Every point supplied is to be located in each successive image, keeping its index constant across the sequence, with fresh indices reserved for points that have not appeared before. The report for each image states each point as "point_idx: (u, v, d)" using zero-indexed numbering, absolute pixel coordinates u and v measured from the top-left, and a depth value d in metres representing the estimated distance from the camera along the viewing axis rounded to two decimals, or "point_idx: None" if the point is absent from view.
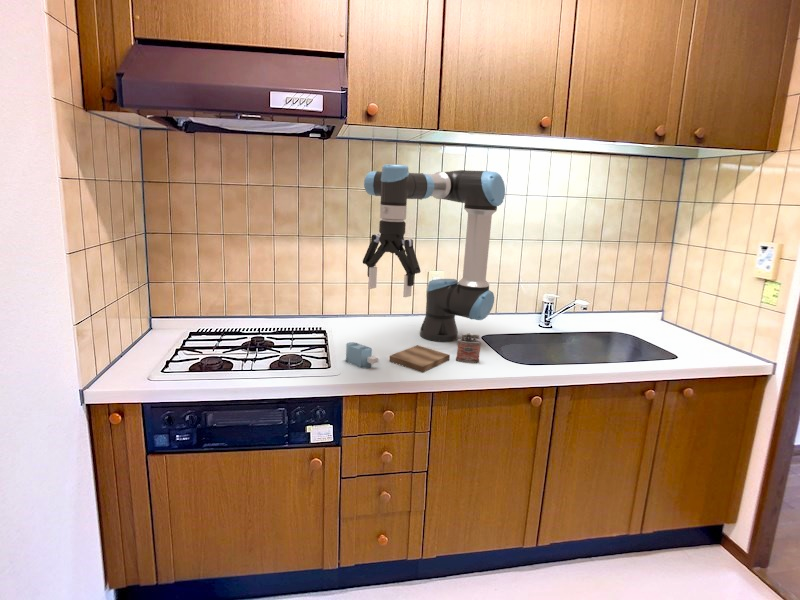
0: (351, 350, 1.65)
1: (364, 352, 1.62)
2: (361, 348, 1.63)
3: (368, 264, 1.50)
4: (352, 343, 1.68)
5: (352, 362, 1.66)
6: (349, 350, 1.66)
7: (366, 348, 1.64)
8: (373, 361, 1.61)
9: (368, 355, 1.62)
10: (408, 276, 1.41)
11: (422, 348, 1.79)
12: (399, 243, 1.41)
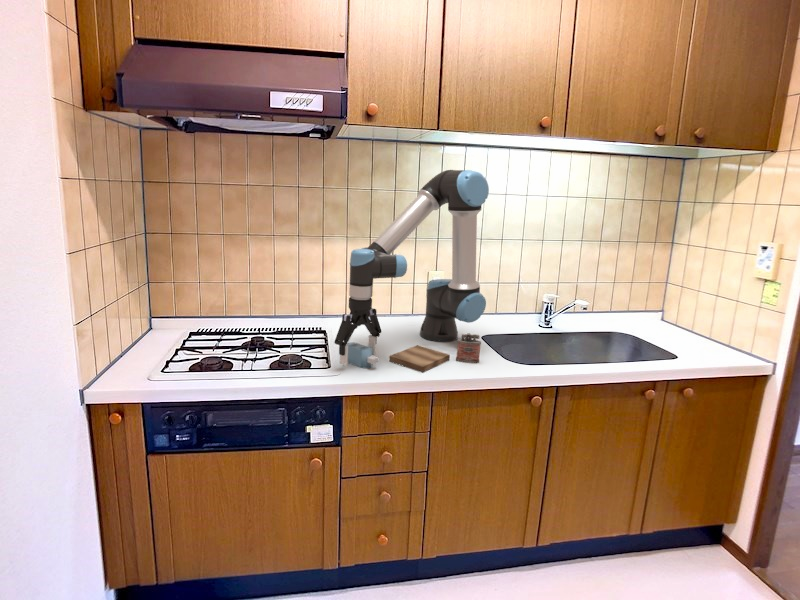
0: (351, 350, 1.65)
1: (364, 352, 1.62)
2: (361, 349, 1.63)
3: None
4: (352, 343, 1.68)
5: (352, 362, 1.66)
6: (348, 350, 1.66)
7: (366, 348, 1.64)
8: (373, 361, 1.61)
9: (368, 355, 1.62)
10: None
11: (422, 348, 1.79)
12: None
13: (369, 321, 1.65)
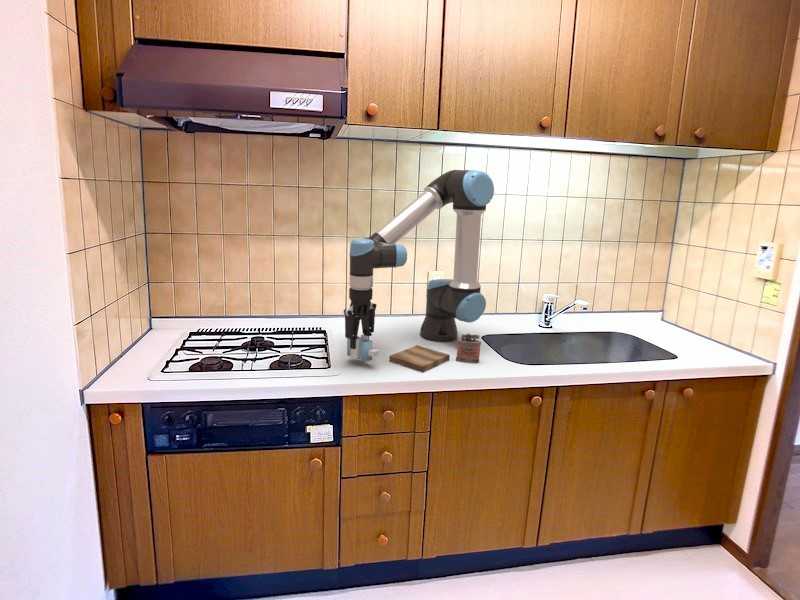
0: None
1: (365, 345, 1.61)
2: (362, 342, 1.63)
3: None
4: None
5: None
6: (349, 343, 1.65)
7: (367, 341, 1.63)
8: (374, 354, 1.60)
9: (369, 348, 1.62)
10: None
11: (422, 348, 1.79)
12: None
13: (368, 314, 1.63)
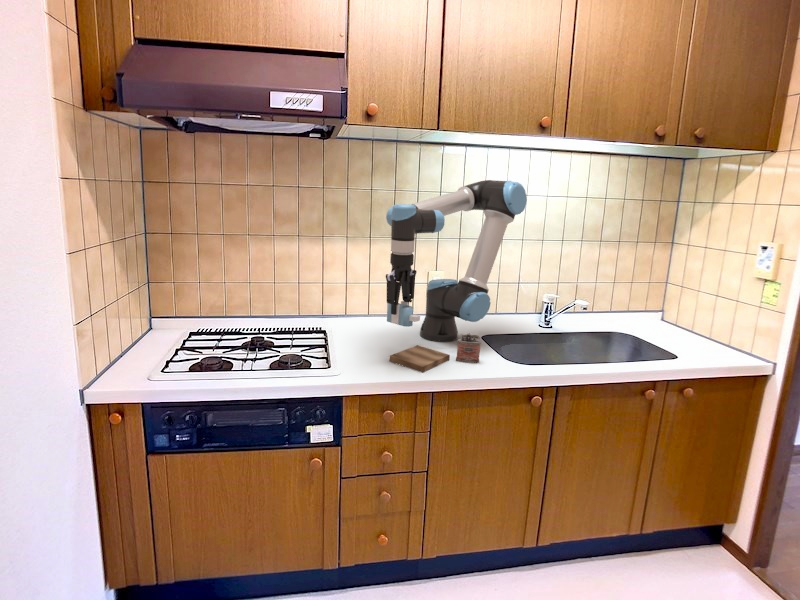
0: None
1: (406, 310, 1.62)
2: (403, 307, 1.63)
3: None
4: None
5: None
6: (390, 309, 1.66)
7: (407, 307, 1.64)
8: (415, 319, 1.61)
9: (410, 313, 1.63)
10: None
11: (422, 348, 1.79)
12: None
13: (408, 279, 1.64)
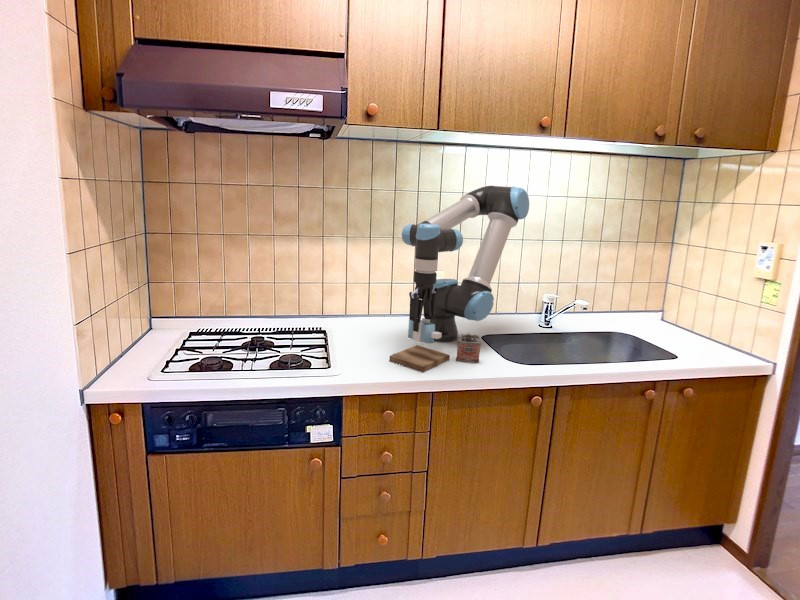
0: None
1: (428, 327, 1.65)
2: (425, 324, 1.66)
3: None
4: None
5: None
6: (411, 326, 1.69)
7: (429, 324, 1.67)
8: (437, 336, 1.64)
9: (432, 330, 1.66)
10: None
11: (422, 348, 1.79)
12: None
13: (430, 297, 1.67)
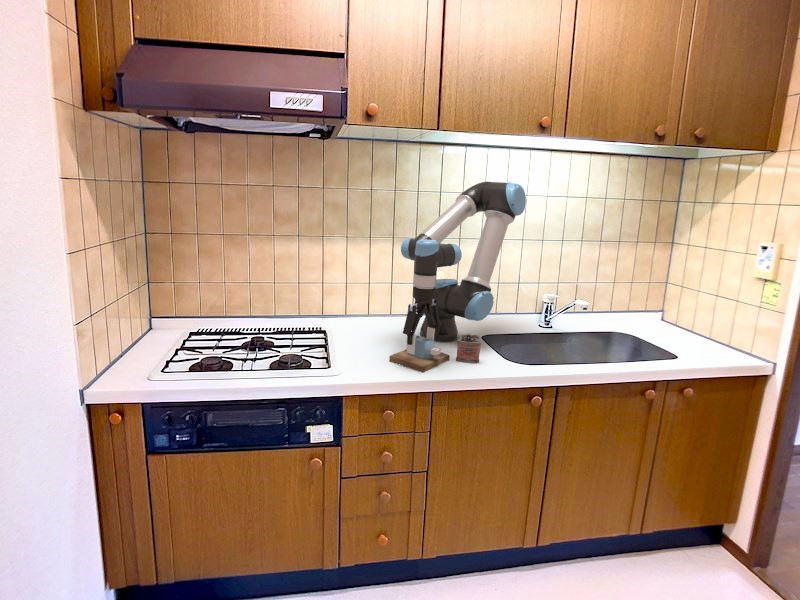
0: None
1: (427, 344, 1.67)
2: (424, 341, 1.68)
3: None
4: None
5: (414, 354, 1.70)
6: None
7: (429, 340, 1.69)
8: (436, 353, 1.66)
9: (431, 347, 1.67)
10: None
11: None
12: None
13: (431, 311, 1.69)
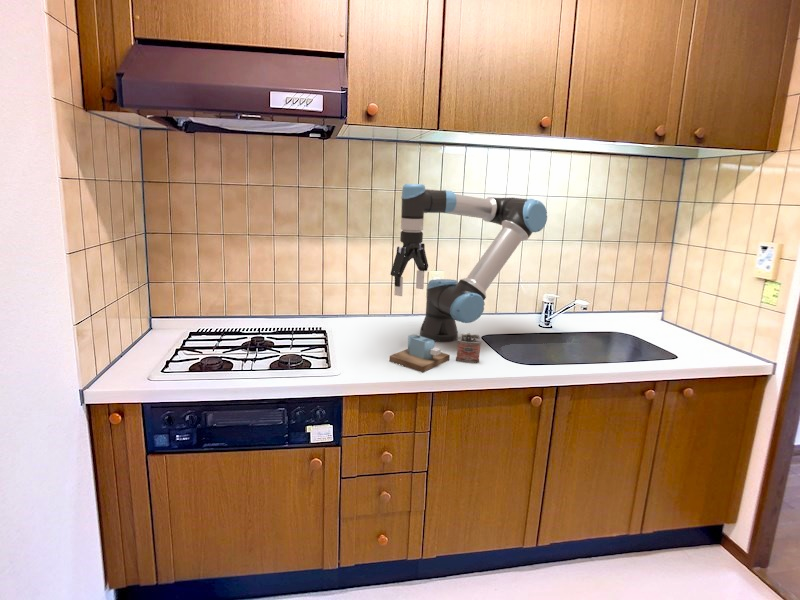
0: (414, 342, 1.70)
1: (427, 344, 1.67)
2: (424, 341, 1.68)
3: None
4: (413, 335, 1.73)
5: (414, 354, 1.70)
6: (411, 342, 1.71)
7: (429, 340, 1.69)
8: (436, 353, 1.66)
9: (431, 347, 1.67)
10: None
11: None
12: None
13: (419, 255, 1.71)
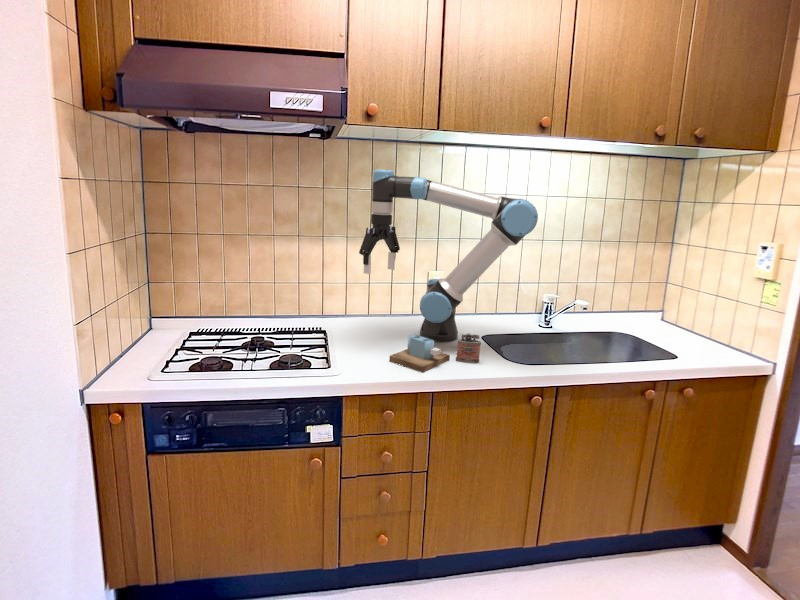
0: (414, 342, 1.70)
1: (427, 344, 1.67)
2: (424, 341, 1.68)
3: None
4: (413, 335, 1.73)
5: (414, 354, 1.70)
6: (411, 342, 1.71)
7: (429, 340, 1.69)
8: (436, 353, 1.66)
9: (431, 347, 1.67)
10: None
11: None
12: None
13: (389, 236, 1.83)
